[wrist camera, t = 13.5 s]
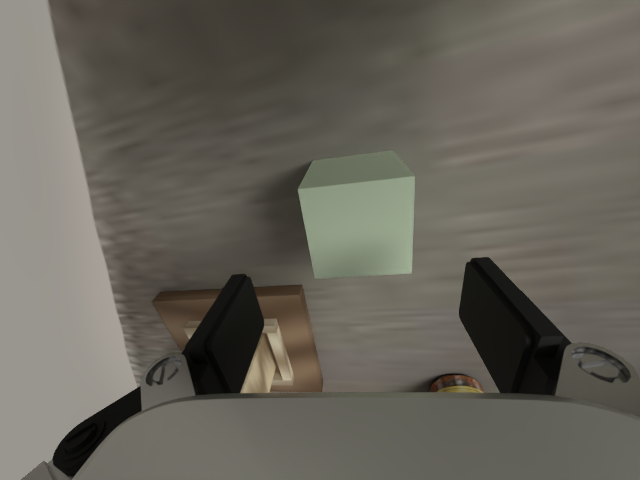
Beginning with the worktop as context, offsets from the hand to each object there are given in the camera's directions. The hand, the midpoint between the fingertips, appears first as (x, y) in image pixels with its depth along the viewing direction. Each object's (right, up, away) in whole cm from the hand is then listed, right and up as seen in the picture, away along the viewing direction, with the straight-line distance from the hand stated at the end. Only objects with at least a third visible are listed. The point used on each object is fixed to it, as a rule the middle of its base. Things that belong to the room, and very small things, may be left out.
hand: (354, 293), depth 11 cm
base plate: (-10, -10, +20) cm, 24 cm away
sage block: (+1, +6, +9) cm, 11 cm away
